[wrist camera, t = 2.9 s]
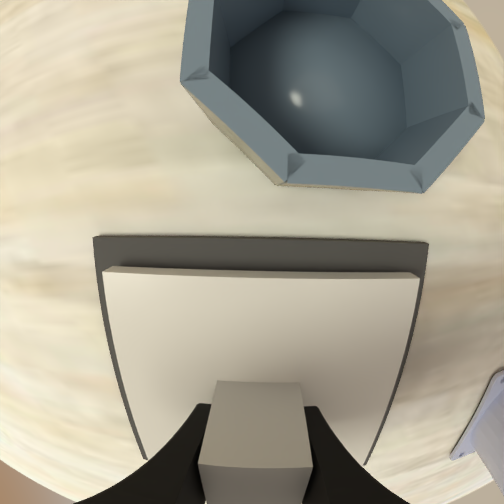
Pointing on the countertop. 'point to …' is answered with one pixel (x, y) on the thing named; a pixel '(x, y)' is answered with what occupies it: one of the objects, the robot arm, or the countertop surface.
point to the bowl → (336, 88)
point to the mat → (256, 268)
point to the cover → (258, 365)
